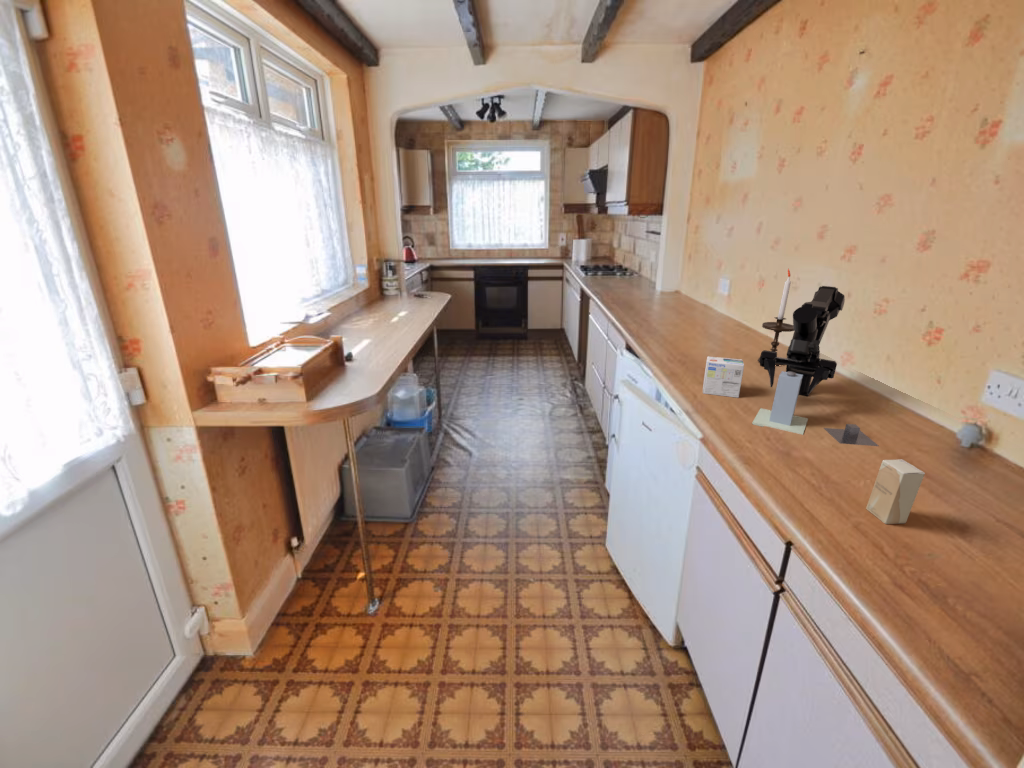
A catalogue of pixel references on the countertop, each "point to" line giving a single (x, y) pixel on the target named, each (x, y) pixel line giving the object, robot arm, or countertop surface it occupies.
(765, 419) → the mat
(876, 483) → the box
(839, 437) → the grey square base plate
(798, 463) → the countertop surface
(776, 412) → the gray pillar with knob
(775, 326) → the candlestick
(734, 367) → the light bulb box
